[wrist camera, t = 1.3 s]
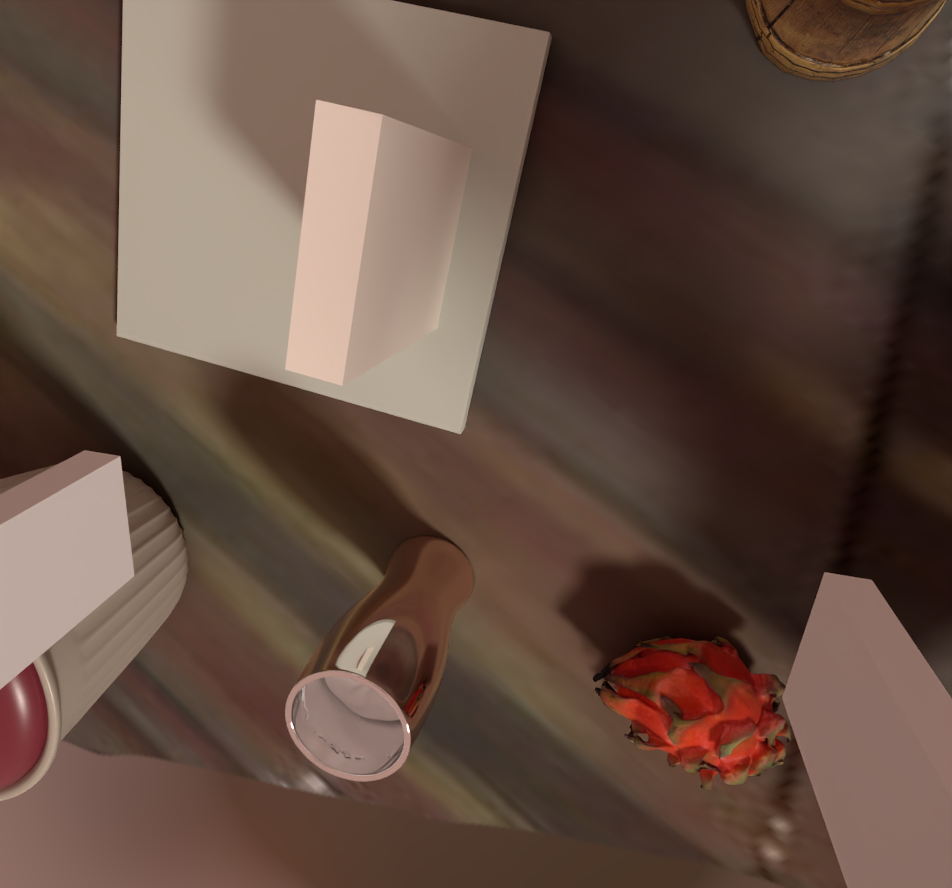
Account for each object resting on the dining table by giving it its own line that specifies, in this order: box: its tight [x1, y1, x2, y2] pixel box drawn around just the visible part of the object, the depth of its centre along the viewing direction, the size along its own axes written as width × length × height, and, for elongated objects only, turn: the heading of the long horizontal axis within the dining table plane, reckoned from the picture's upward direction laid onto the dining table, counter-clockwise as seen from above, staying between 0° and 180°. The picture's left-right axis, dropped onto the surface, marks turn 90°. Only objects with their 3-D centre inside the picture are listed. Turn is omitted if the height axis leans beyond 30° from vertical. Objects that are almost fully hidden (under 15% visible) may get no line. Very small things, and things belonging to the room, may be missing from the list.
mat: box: [117, 0, 552, 434], centre depth 40 cm, size 24×22×1 cm
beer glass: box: [285, 536, 474, 781], centre depth 40 cm, size 7×7×15 cm
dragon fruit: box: [593, 636, 791, 790], centre depth 42 cm, size 8×8×12 cm
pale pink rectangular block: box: [285, 100, 472, 386], centre depth 32 cm, size 3×10×14 cm, turn 168°
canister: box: [0, 465, 188, 801], centre depth 42 cm, size 18×18×21 cm
